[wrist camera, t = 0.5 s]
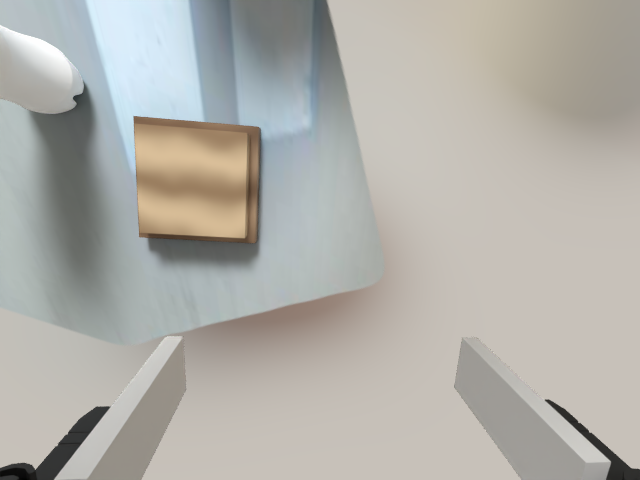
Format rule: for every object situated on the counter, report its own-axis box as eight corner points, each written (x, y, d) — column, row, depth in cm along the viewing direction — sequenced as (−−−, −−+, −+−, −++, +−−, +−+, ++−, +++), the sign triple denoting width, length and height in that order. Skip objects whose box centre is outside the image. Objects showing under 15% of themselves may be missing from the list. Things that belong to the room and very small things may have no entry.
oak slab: (143, 126, 36) (134, 123, 34) (249, 135, 37) (247, 132, 35) (147, 229, 38) (139, 232, 36) (247, 235, 39) (244, 238, 37)
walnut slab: (141, 119, 37) (133, 116, 35) (260, 129, 38) (258, 126, 36) (146, 234, 40) (139, 237, 38) (257, 240, 41) (255, 243, 39)
